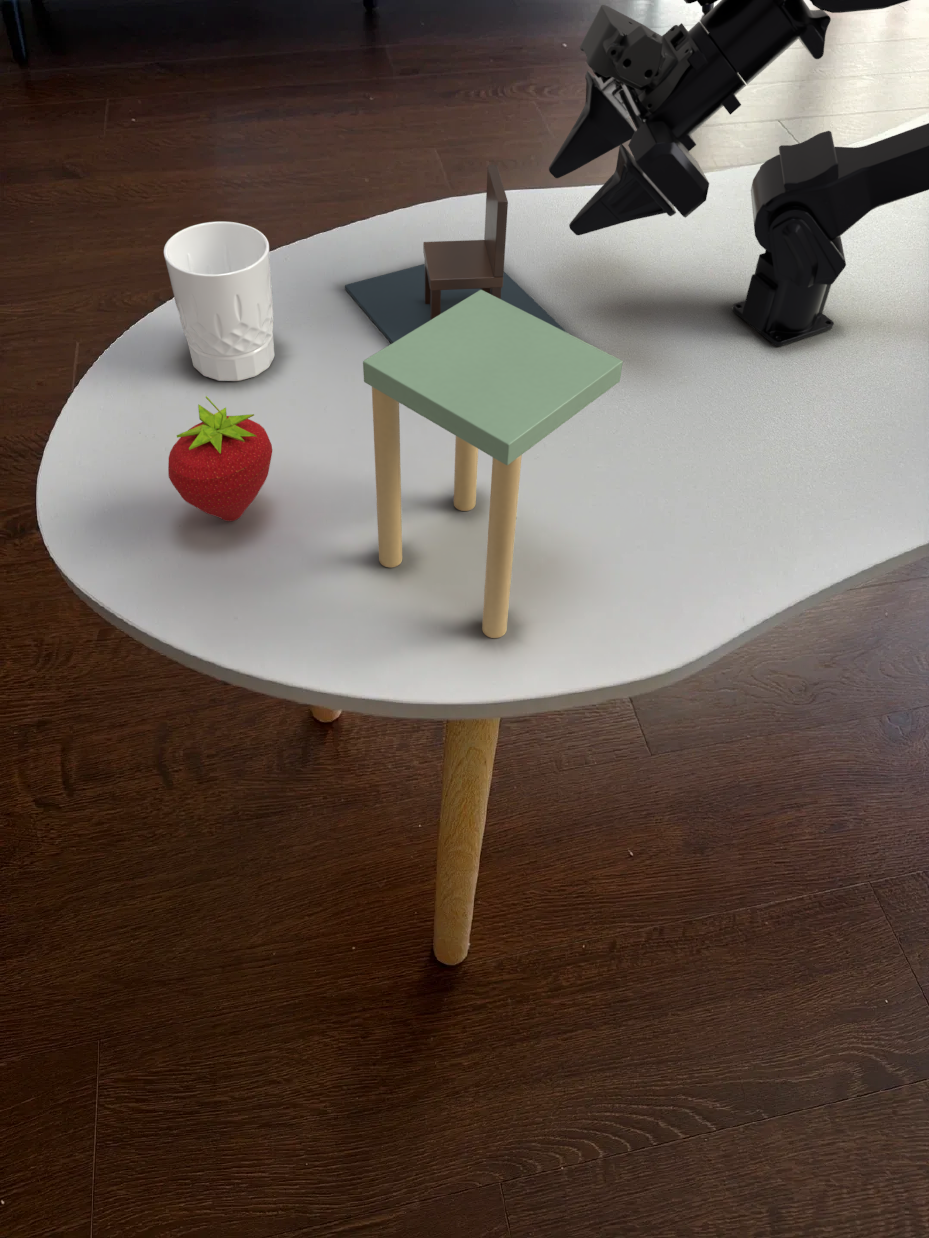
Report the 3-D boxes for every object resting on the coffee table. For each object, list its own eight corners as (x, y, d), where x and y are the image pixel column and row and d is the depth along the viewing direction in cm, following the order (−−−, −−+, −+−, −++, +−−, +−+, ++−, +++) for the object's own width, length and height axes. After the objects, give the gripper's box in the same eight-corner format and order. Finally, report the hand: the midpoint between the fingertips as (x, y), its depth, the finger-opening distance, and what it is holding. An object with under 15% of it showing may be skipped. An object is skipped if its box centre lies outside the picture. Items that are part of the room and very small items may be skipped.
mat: (481, 252, 103) (481, 249, 103) (585, 353, 93) (585, 349, 92) (344, 288, 98) (344, 284, 98) (438, 399, 88) (438, 395, 88)
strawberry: (162, 523, 77) (134, 409, 70) (245, 473, 81) (227, 360, 74) (215, 565, 75) (192, 451, 67) (298, 511, 79) (285, 398, 71)
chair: (490, 296, 97) (497, 164, 88) (499, 335, 93) (508, 201, 84) (423, 299, 97) (423, 166, 88) (429, 338, 93) (430, 204, 84)
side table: (472, 487, 81) (480, 289, 69) (591, 559, 76) (623, 360, 64) (372, 561, 76) (362, 360, 63) (493, 644, 71) (508, 444, 59)
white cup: (263, 393, 88) (249, 281, 80) (170, 379, 89) (147, 267, 81) (293, 338, 93) (282, 228, 85) (205, 325, 94) (186, 215, 86)
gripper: (629, -75, 82) (478, 81, 89) (694, 21, 70) (513, 193, 77) (711, 34, 89) (565, 171, 96) (783, 140, 76) (609, 288, 84)
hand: (562, 201), depth 88 cm, fingers open, 9 cm apart
